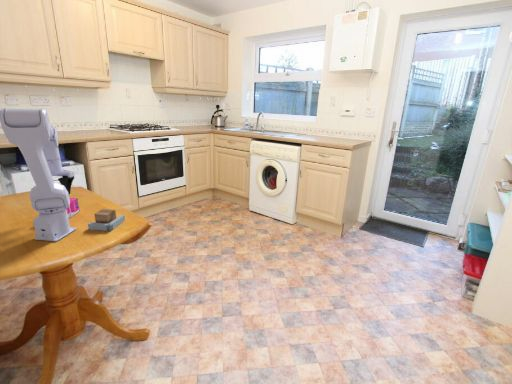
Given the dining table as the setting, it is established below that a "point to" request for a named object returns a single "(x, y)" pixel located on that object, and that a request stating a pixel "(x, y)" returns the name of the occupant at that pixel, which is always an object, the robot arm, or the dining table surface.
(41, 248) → the dining table surface
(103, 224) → the grey flat angled piece
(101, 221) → the walnut cube
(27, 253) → the dining table surface
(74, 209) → the supplement box
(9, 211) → the dining table surface
